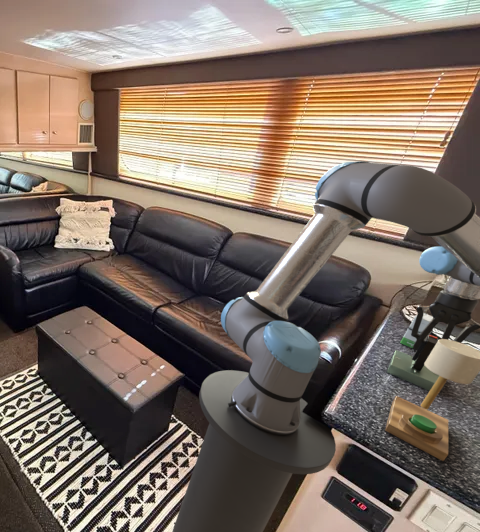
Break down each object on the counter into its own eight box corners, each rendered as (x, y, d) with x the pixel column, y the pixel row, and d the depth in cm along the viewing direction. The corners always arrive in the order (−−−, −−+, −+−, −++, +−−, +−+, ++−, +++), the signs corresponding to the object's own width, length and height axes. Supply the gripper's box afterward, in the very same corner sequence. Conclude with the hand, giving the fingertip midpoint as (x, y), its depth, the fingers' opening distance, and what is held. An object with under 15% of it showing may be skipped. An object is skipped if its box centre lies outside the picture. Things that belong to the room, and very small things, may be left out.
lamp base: (443, 461, 71) (452, 448, 69) (384, 430, 77) (392, 418, 76) (444, 426, 81) (452, 414, 79) (392, 401, 88) (399, 390, 86)
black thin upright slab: (420, 371, 98) (437, 343, 94) (411, 367, 99) (428, 340, 95) (421, 364, 101) (438, 337, 98) (413, 360, 103) (429, 334, 99)
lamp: (414, 413, 78) (453, 353, 72) (396, 391, 86) (430, 335, 79) (455, 424, 76) (499, 363, 70) (432, 401, 83) (470, 344, 77)
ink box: (416, 350, 115) (433, 322, 111) (399, 343, 119) (414, 315, 115) (424, 345, 120) (440, 318, 116) (406, 338, 124) (422, 311, 119)
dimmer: (435, 393, 93) (441, 385, 92) (386, 372, 101) (391, 364, 99) (436, 375, 102) (441, 367, 101) (391, 356, 110) (396, 349, 108)
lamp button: (432, 436, 72) (436, 431, 72) (409, 424, 75) (412, 419, 74) (433, 428, 75) (437, 422, 74) (410, 417, 78) (413, 411, 77)
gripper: (499, 302, 88) (454, 370, 97) (424, 282, 98) (389, 345, 107) (502, 309, 83) (454, 379, 92) (423, 287, 94) (386, 352, 102)
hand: (419, 361), depth 100 cm, fingers closed on black thin upright slab, 2 cm apart
